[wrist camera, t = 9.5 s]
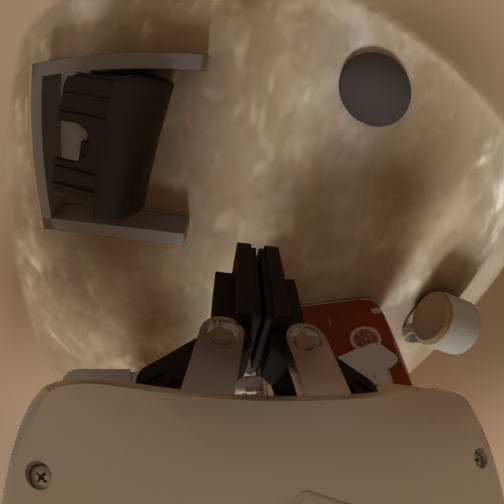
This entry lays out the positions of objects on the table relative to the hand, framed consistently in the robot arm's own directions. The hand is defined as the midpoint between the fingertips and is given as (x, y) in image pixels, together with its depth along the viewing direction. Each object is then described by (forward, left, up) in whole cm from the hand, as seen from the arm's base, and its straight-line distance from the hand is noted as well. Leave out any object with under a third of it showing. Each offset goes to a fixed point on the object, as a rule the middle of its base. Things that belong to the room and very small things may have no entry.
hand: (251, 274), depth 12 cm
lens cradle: (+1, +11, -14) cm, 18 cm away
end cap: (+2, +10, -15) cm, 18 cm away
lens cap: (+9, -9, -15) cm, 19 cm away
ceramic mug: (-15, -28, -15) cm, 35 cm away
